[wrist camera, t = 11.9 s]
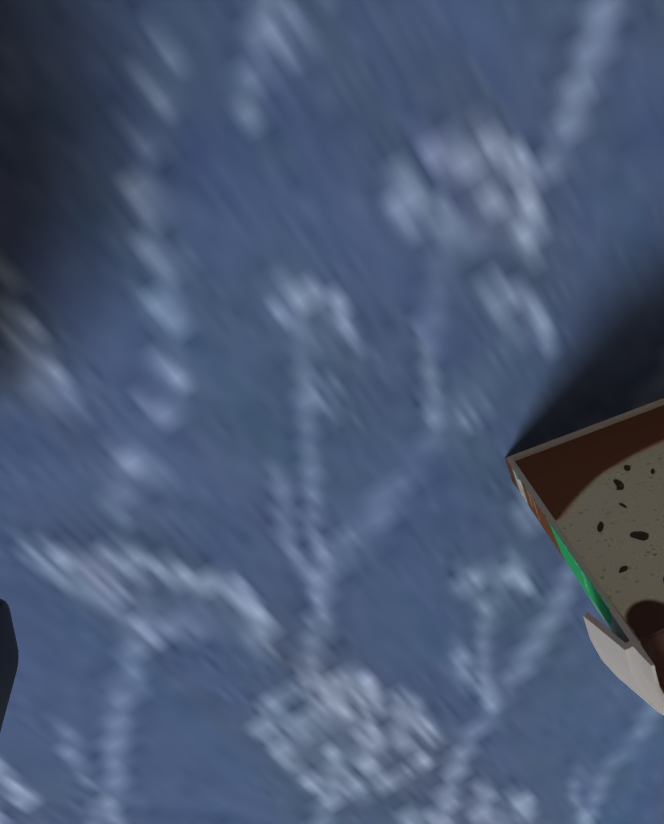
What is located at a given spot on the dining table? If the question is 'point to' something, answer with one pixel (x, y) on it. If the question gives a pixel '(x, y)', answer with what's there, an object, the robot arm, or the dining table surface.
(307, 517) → the dining table surface
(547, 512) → the food container
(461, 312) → the dining table surface
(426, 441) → the dining table surface
